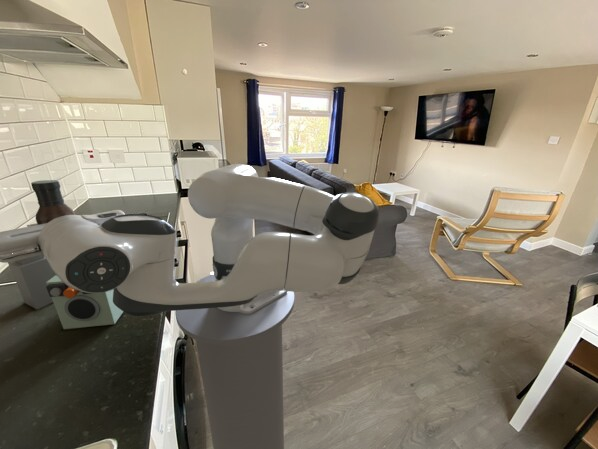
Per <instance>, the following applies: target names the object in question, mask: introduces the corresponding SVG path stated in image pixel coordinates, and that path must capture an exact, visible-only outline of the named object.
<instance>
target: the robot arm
mask: <svg viewBox="0 0 598 449" xmlns="http://www.w3.org/2000/svg"><path fill="white" fill-rule="evenodd" d="M187 197H188V198H187V199H188V202H189V205H190V206H191V209H192V210H193V211H194V212H195V213H196V214H198V215H199V216H200V217H202V218H204V219H208V220H209V219H214V222H213V224H212V227H211V231H210V236H211V245H212V253H213V254H212V258H211V259H212V271H211V272H210V275H212V274H214V276H215V281H214V282H198V283H196V282H184V283H182V282H178V281H177V280H176V278H175V256H176V238H177V237H176V234H177V233H176V229H175V228H174V227H173V225H172V224H170V223H169V222H168V221H167V220H165V219H163V218H161V217H158V216H156V215H151V214H143V213H128V214H126V213H125V212H124V210H121V209H115V210H109V211H104V212H98V213H93V214H75V215H65V216H61V217H58V218H55V219H53V220H52V221H50V222H48V223H45V224H40V225H38V224H37V222H36V223H31V224H26V226H25V227H20V228H13V229H8V230H3V231H0V263H4V264H6V263H7V264H8V262H14V261H18V260H22V259H26V258H30V257H34V256H38V255H42V254H44V256H45V258H46V259H47V260H48V262H49V264H50V266H51V268H52V270H53V271H54V273H55V274H56V275H57V276H58V277H59V279H60V280H61V281H62V282H64V283H65V284H66V285H67V286H69V287H71V288H73V289H76V290H78V291H81V292H86V293H104V292H107V291H110V290H113V289H114V291H113V303H114V304H115V305H116V306H117V307H118V308H119V309H121V310H122V311H124V312H123V313H125V314H127V315H130V316H134V317H143V316H144V317H146V316H152V315H155V314H160V313H166V312H173V311H175V312H176V310H190V309H205V308H218V309H220V310H223V311H227V312H240V313H244V314H252V313H253V312H255V311H257V310H259V309H260V308H262V307H264V306H266V305H267V304H269V303H271V302H273V301H274V300H276V299H278V298H279V297H281V296H283V295H285V294H286V293H287V291H293V292H294V293H297V292H298V293H304V292H305V293H307V292H308V293H313V292H321V291H324V292H325V291H330V290H332V289H334V288H336V287H337V286H338V285H345V284H348V283H350V282H352V280H354V279H355V278H356V276H357V275H358V274H359V273H360V271H361V268H362V265H363V264H364V262H365V260H366V259H367V257H368V254H369V252H370V248H371V244H372V241H373V238H374V234H375V230H376V229H377V228H378V224H379V218H380V210H379V209H380V208H379V206H378V205H377V204H376V203H375V201H374V200H373V199H371V198H370V197H369V196H367V195H365V194H363V193H361V192H354V191H346V192H342V193H339V194H336V195H333V194H331V193H329V192H326V191H325V190H322V189H319V188H316V187H312V186H309V185H305V184H301V183H297V182H294V181H293V182H292V181H289V180H285V179H281V178H277V177H264V176H263V177H262V176H259V174H258V172H257V171H256V170H255V169H254V168H253V167H252V166H250V165H247V164H243V163H232V164H228V165H224V166H222V167H221V166H220V167H219V168H215V169H211V170H207V171H206V172H204V173H202V174H201V175H200V176H198V177H196V179H194V180H193V181H192V182H191V183H190V185H189V187H188V190H187ZM254 220H257V221H264V222H269V223H273V224H277V225H281V226H285V227H288V228H292V229H297V230H300V231H304V232H308V233H311V234H312V235H307V234H301V233H295V232H294V233H292V232H284V231H263V232H261V233H258V234H256V235H255V236H254V233H253V232H254V231H253V229H254Z"/></svg>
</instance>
